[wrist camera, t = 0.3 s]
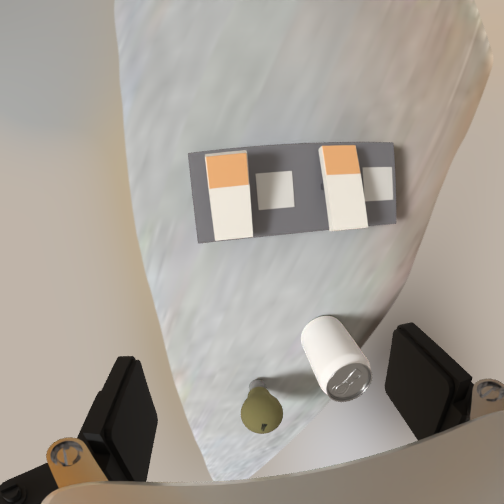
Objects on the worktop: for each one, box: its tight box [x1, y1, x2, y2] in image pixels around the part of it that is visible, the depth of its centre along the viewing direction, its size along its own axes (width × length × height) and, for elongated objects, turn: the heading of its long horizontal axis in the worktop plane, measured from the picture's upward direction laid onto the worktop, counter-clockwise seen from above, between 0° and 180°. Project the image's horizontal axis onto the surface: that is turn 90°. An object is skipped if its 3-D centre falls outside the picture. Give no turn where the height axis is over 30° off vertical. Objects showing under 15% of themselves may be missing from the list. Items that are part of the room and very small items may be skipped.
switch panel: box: [188, 142, 396, 243], centre depth 36 cm, size 10×24×6 cm, turn 95°
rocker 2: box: [318, 145, 368, 231], centre depth 33 cm, size 9×4×1 cm, turn 5°
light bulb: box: [241, 379, 283, 434], centre depth 41 cm, size 6×6×10 cm
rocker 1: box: [205, 150, 253, 241], centre depth 32 cm, size 9×4×1 cm, turn 5°
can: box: [301, 316, 372, 402], centre depth 39 cm, size 6×6×12 cm
